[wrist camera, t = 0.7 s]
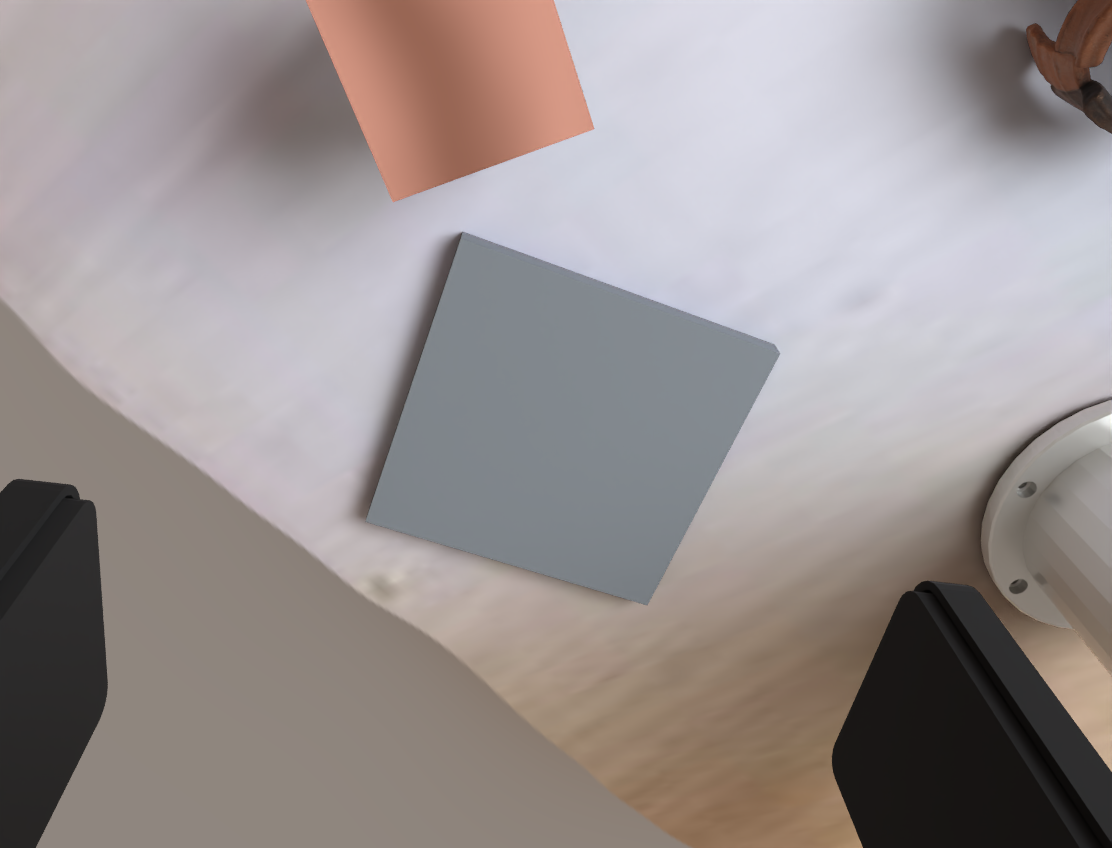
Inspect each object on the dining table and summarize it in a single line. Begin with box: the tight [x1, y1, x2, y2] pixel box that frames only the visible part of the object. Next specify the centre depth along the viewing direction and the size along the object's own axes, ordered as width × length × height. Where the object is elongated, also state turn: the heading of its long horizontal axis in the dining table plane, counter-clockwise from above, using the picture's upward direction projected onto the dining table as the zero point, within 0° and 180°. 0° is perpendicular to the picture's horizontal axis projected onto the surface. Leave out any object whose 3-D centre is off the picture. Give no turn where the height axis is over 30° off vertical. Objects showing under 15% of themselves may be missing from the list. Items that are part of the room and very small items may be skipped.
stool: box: [306, 0, 594, 202], centre depth 29 cm, size 6×6×8 cm
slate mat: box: [366, 232, 780, 605], centre depth 40 cm, size 14×14×1 cm
